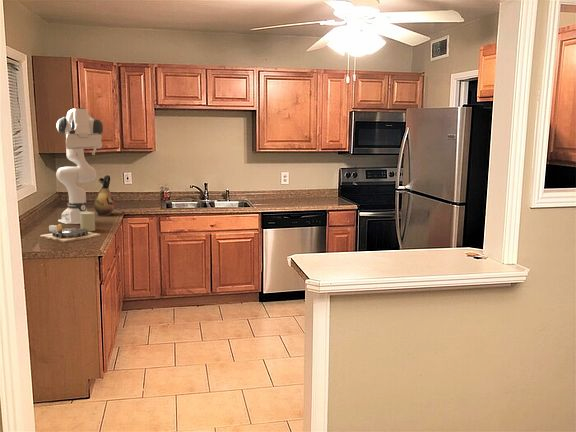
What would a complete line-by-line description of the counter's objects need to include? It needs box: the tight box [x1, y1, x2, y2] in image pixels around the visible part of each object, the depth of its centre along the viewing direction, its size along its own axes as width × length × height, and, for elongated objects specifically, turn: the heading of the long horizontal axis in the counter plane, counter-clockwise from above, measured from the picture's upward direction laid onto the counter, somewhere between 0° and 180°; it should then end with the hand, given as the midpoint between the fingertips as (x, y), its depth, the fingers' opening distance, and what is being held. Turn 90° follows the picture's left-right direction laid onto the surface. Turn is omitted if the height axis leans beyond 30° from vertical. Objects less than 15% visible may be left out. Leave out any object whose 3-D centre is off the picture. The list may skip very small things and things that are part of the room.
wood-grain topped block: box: [48, 224, 58, 233], centre depth 343 cm, size 6×3×4 cm, turn 58°
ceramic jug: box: [93, 174, 116, 217], centre depth 408 cm, size 17×15×30 cm
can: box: [79, 211, 97, 232], centre depth 351 cm, size 9×9×12 cm
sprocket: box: [51, 223, 89, 238], centre depth 331 cm, size 20×20×7 cm
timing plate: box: [38, 228, 101, 243], centre depth 332 cm, size 25×25×4 cm
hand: (85, 155), depth 319 cm, fingers open, 8 cm apart
